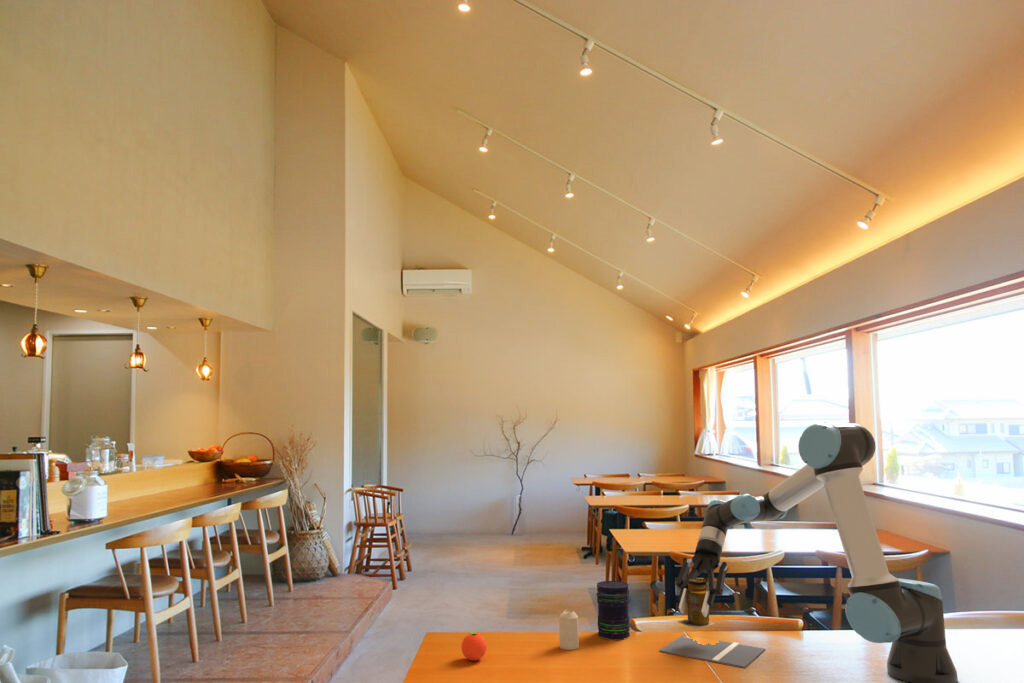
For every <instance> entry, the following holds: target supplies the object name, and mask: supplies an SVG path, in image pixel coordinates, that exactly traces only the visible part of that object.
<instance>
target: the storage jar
mask: <svg viewBox="0 0 1024 683" xmlns="http://www.w3.org/2000/svg"><path fill="white" fill-rule="evenodd" d="M596 601H597V607H598V608H597V609H598V610H597V611H598V612H597V613H598V615H597V630H598V631H597V636H598V637H600V638H601V639H606V640H611V641H612V640H614V641H616V640H615V639H621V640H625V639H624V638H626V639H628V638H627V637H629V638H630V636H631V633H630V632H631V631H630V630H631V629H630V627H631V623H630V616H629V603H630V593H629V583H627V582H624V581H619V580H605V581H604V580H603V581H599V582H597V583H596ZM598 633H599V634H598Z"/></svg>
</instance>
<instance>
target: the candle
mask: <svg viewBox="0 0 1024 683" xmlns="http://www.w3.org/2000/svg"><path fill="white" fill-rule="evenodd" d="M558 620H559V621H558V623H559V624H558V627H559V629H558V630H559V648H560V649H562V650H566V651H567V650H568V651H574V650H577V649H579V648H580V647H579V644H580V643H579V641H580V640H579V616H578V614H577V613H576V612H575V611H574V610H568V609H564V611H563V612H562V613H561V614H560V615H559V617H558Z"/></svg>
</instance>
